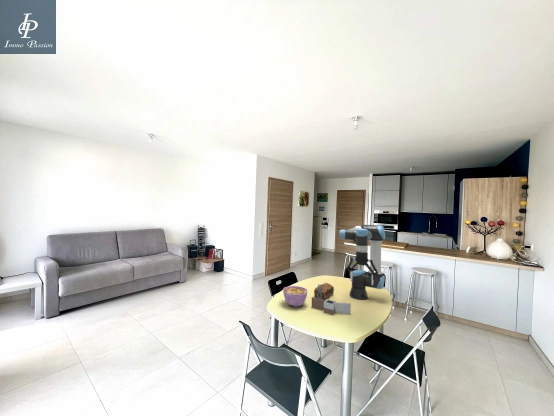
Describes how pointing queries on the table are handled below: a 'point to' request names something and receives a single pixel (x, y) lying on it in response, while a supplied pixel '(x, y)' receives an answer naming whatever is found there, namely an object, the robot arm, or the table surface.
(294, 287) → the bowl of food
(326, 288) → the bread
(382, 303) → the table surface
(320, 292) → the hinge pin
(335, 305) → the hinge leaves
